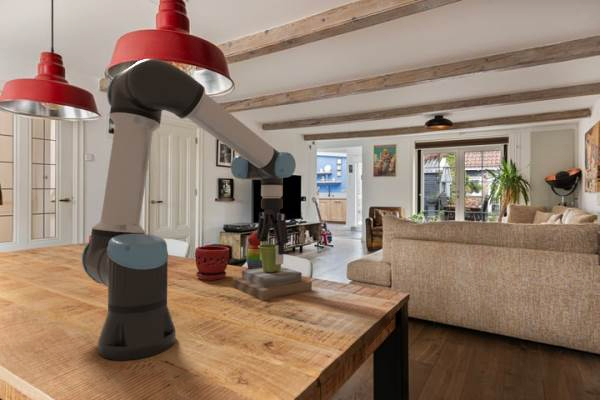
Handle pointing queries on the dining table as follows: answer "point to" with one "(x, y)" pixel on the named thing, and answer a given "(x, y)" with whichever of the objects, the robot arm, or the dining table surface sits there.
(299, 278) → the stepped square platform
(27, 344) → the dining table surface
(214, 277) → the plant pot
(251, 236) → the stacking bear
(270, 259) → the plant pot
